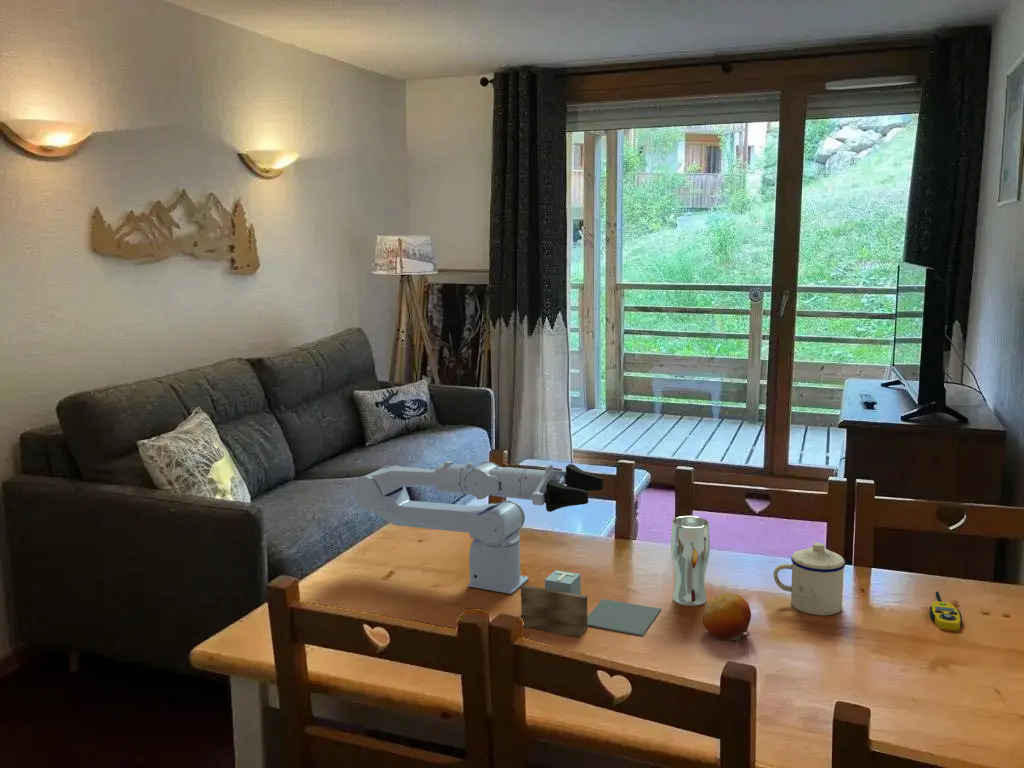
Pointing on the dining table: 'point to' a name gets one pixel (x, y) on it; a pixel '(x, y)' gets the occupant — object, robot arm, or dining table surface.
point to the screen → (554, 610)
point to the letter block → (564, 582)
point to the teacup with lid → (815, 580)
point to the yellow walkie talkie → (945, 615)
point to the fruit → (727, 616)
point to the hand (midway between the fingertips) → (595, 490)
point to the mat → (622, 617)
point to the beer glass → (690, 559)
